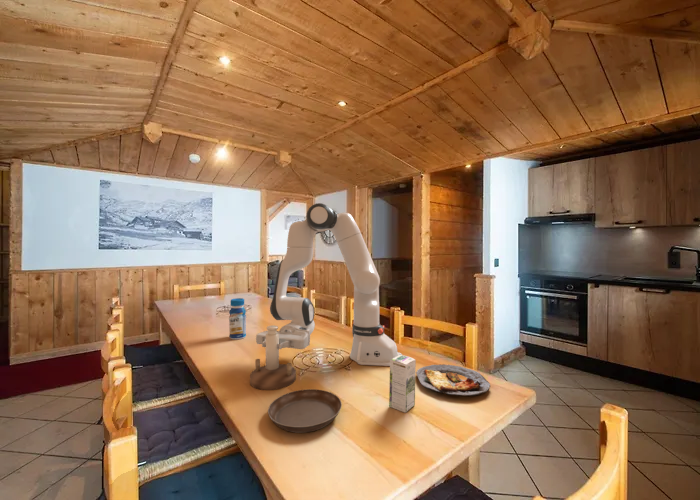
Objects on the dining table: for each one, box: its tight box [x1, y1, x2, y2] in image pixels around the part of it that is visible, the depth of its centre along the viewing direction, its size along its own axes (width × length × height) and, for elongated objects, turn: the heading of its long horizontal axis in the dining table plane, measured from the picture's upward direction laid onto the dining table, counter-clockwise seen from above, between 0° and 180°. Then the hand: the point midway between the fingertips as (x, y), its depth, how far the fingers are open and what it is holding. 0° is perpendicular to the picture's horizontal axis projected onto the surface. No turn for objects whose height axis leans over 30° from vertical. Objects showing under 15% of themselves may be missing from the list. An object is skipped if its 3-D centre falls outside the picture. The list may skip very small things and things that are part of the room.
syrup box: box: [388, 354, 417, 414], centre depth 94 cm, size 6×6×14 cm
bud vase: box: [265, 324, 280, 370], centre depth 112 cm, size 5×5×15 cm
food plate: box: [415, 363, 491, 397], centre depth 109 cm, size 25×23×4 cm
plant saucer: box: [267, 388, 343, 434], centre depth 89 cm, size 21×21×3 cm
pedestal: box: [249, 358, 297, 391], centre depth 112 cm, size 16×16×6 cm
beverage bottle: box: [228, 297, 247, 341], centre depth 162 cm, size 8×8×20 cm
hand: (271, 345), depth 111 cm, fingers closed on bud vase, 5 cm apart
